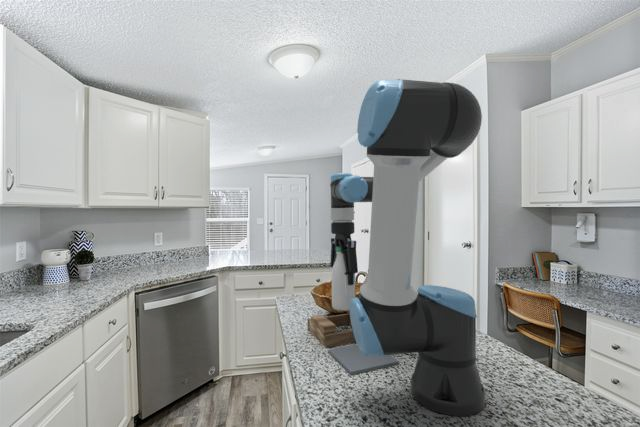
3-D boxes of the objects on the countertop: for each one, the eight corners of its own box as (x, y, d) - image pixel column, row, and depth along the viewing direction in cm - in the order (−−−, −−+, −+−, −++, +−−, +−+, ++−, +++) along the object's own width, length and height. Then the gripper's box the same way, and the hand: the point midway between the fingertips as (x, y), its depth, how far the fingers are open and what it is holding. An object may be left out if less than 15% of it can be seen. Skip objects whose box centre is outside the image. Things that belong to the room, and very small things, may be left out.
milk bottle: (354, 312, 104) (353, 247, 104) (330, 310, 105) (329, 247, 105) (356, 305, 111) (356, 245, 111) (333, 304, 113) (333, 245, 113)
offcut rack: (373, 339, 104) (373, 313, 104) (326, 347, 98) (326, 320, 98) (350, 322, 119) (349, 300, 119) (307, 329, 113) (307, 306, 113)
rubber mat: (398, 364, 87) (398, 361, 87) (350, 375, 82) (350, 372, 82) (370, 344, 100) (370, 341, 100) (327, 352, 95) (327, 349, 95)
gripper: (369, 222, 100) (370, 298, 100) (339, 220, 119) (340, 284, 119) (346, 222, 97) (347, 300, 98) (319, 221, 116) (320, 286, 116)
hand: (343, 291), depth 108 cm, fingers closed on milk bottle, 8 cm apart
